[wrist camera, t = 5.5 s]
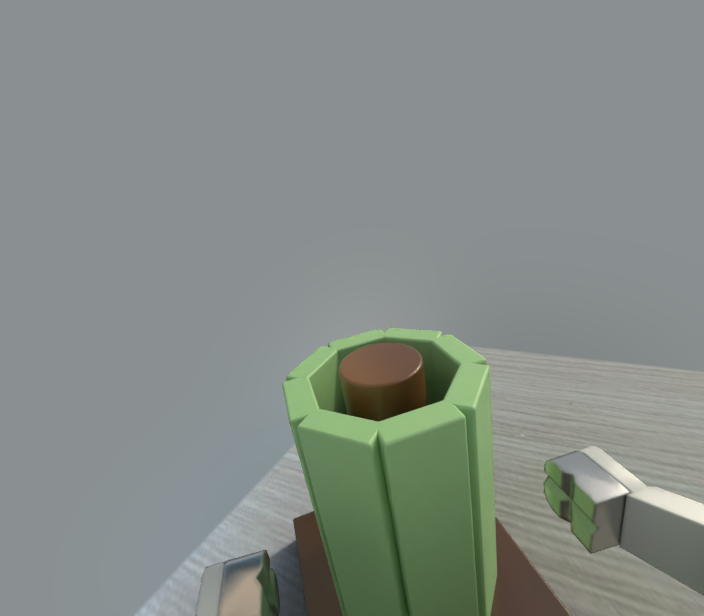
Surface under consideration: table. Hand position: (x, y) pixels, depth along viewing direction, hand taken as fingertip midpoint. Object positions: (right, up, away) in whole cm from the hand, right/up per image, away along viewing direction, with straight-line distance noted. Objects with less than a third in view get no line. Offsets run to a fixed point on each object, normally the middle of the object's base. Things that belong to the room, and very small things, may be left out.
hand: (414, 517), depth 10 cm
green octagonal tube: (0, -4, +3) cm, 5 cm away
